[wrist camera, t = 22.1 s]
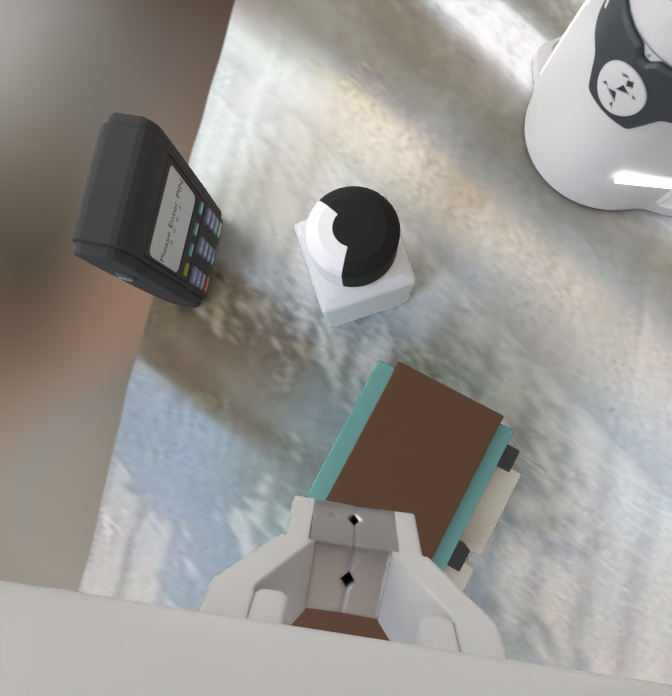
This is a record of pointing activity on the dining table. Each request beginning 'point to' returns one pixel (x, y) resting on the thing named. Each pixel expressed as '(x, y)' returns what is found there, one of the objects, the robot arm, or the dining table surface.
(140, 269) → the card reader
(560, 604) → the dining table surface
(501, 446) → the toy piano
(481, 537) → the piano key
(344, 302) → the medicine bottle
